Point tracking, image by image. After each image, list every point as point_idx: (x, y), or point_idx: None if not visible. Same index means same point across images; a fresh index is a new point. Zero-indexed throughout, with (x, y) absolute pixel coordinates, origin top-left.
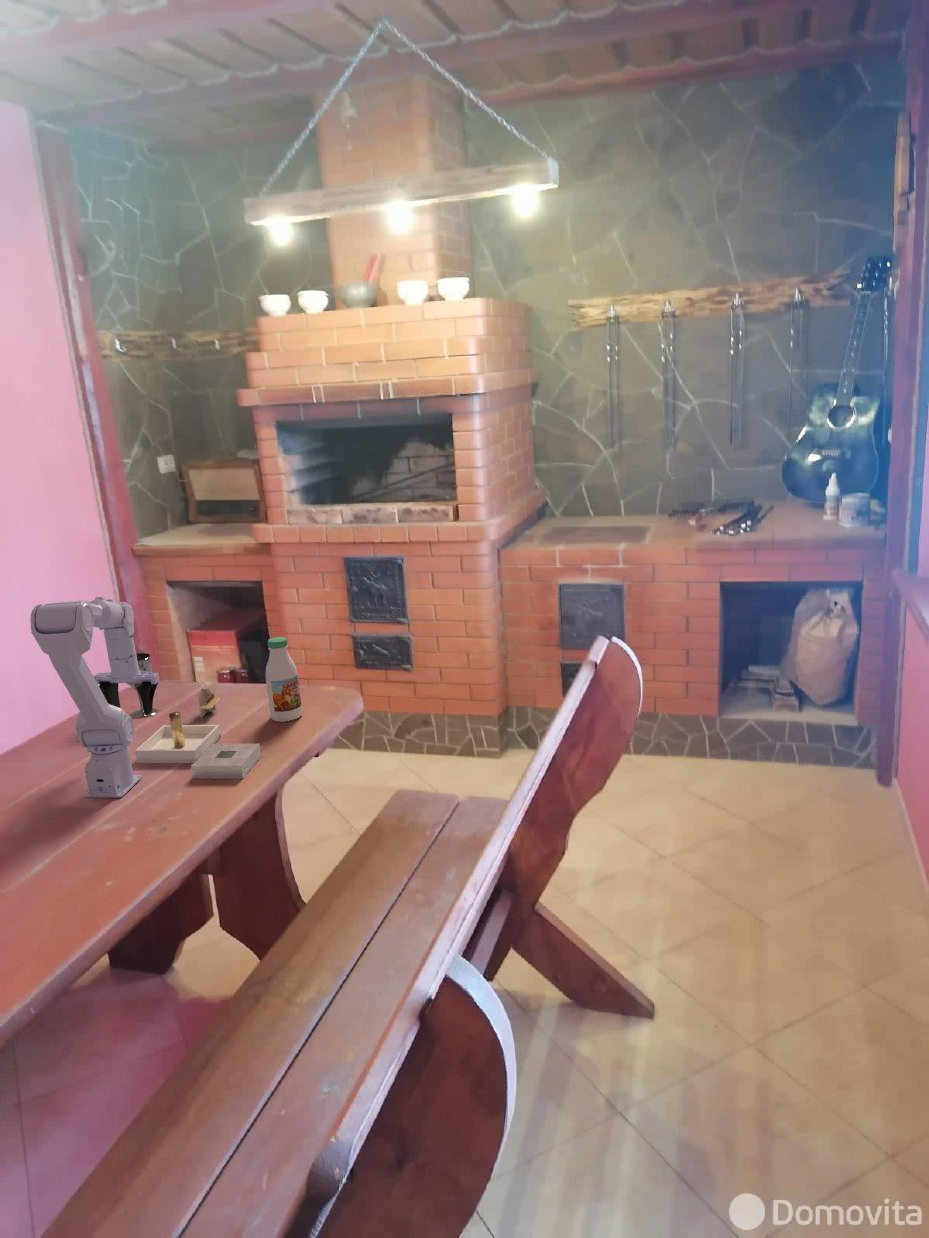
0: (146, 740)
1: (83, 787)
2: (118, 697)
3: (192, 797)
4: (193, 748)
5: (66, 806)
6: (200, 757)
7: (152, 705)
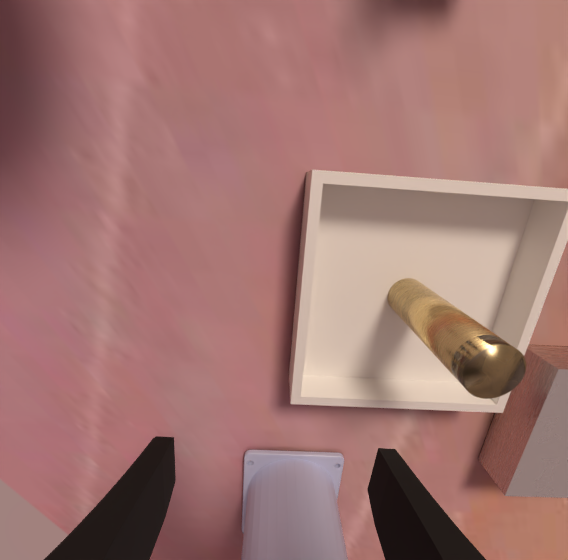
0: (298, 327)
1: (207, 487)
2: (117, 534)
3: (488, 527)
4: None
5: (219, 551)
6: (526, 454)
7: (421, 483)
